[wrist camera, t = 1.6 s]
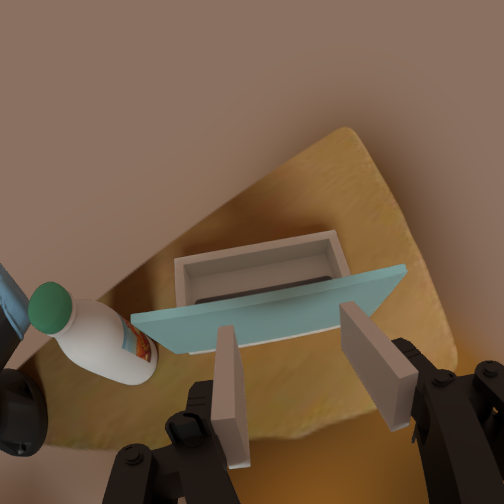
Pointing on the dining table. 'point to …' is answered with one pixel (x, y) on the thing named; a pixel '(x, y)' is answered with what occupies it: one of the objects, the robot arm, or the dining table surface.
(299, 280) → the white shallow box
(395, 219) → the dining table surface
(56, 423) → the dining table surface
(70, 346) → the milk bottle
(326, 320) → the cover
